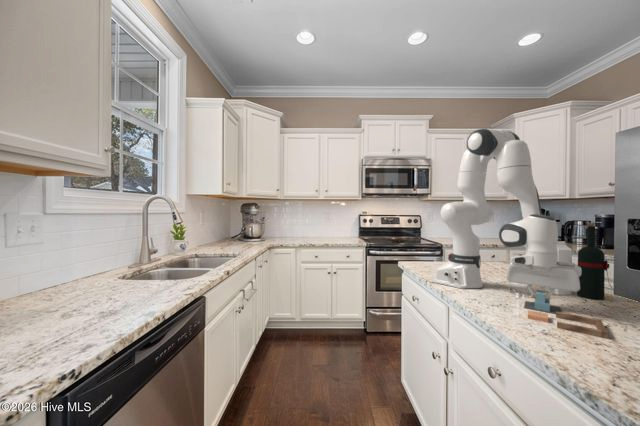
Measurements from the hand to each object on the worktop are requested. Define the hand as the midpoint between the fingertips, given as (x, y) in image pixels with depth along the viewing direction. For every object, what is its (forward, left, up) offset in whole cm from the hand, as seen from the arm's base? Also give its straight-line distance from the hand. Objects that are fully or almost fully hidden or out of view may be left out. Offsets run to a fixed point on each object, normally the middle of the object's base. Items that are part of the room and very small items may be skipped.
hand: (540, 298), depth 96 cm
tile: (0, -13, -4) cm, 14 cm away
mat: (+1, 0, -4) cm, 4 cm away
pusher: (+1, 0, -3) cm, 3 cm away
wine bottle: (+17, +30, -4) cm, 34 cm away
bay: (+9, -13, -4) cm, 16 cm away
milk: (+6, +29, -4) cm, 30 cm away
